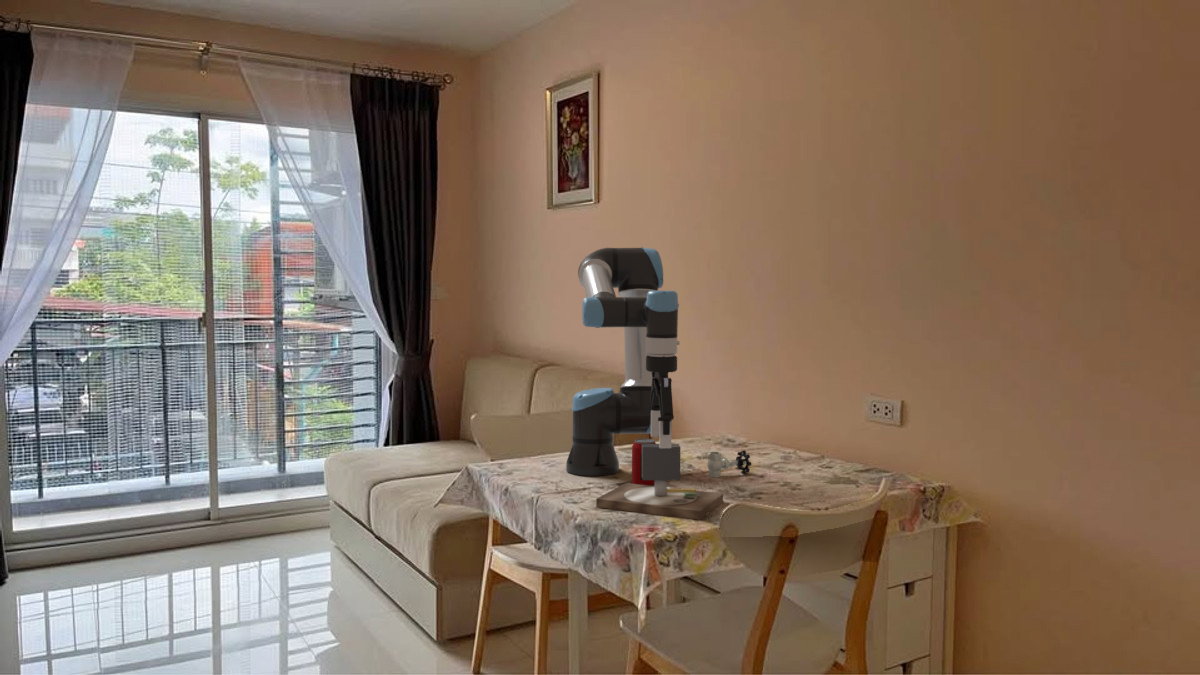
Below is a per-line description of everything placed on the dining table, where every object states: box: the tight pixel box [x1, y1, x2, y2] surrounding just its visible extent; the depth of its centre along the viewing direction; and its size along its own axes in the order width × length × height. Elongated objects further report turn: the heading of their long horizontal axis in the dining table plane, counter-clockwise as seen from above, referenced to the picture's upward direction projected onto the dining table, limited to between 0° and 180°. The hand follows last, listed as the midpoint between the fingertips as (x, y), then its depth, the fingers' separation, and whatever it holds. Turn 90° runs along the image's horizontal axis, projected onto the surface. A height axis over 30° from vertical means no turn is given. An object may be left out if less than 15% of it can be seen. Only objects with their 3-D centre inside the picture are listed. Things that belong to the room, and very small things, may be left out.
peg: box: [642, 443, 697, 496], centre depth 207 cm, size 13×4×12 cm, turn 91°
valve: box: [707, 450, 752, 478], centre depth 240 cm, size 7×7×12 cm
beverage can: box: [631, 438, 657, 486], centre depth 227 cm, size 7×7×12 cm
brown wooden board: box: [595, 482, 724, 521], centre depth 207 cm, size 26×18×2 cm
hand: (660, 442), depth 207 cm, fingers open, 13 cm apart
